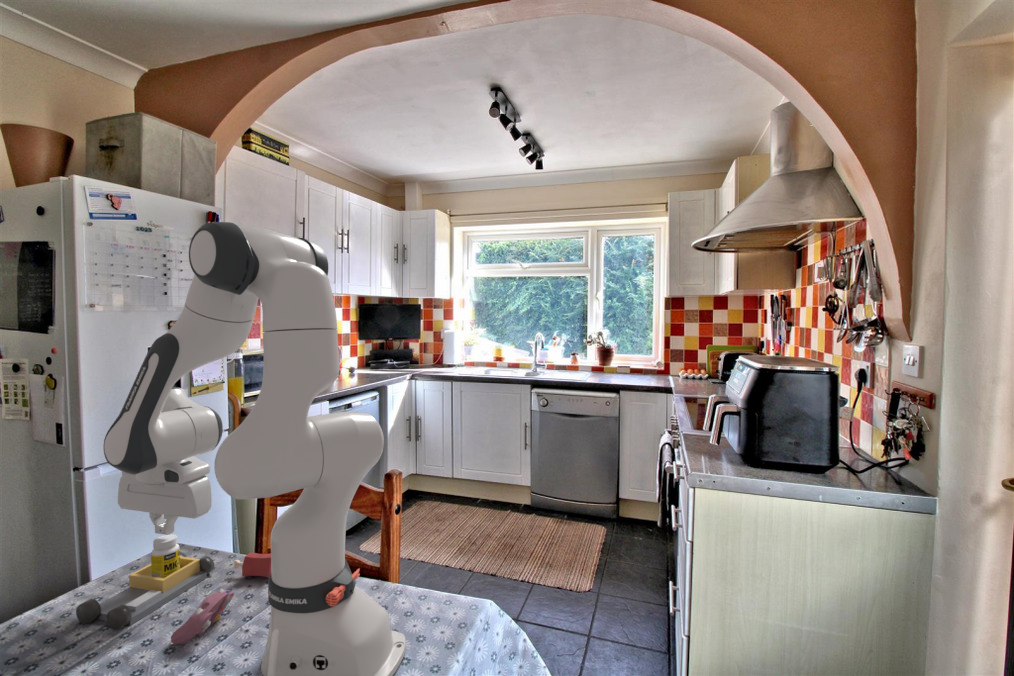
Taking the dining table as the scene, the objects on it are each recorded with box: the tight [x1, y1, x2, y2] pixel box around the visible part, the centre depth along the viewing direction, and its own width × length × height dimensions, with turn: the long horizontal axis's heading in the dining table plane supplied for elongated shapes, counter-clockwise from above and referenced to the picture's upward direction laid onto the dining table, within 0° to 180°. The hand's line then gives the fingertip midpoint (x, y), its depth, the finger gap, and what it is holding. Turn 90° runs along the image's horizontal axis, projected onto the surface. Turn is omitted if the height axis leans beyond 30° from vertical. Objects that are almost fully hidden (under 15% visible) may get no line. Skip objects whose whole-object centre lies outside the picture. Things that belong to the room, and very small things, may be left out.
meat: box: [233, 551, 271, 578], centre depth 100 cm, size 12×5×5 cm, turn 87°
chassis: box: [75, 551, 215, 631], centre depth 93 cm, size 11×19×4 cm, turn 167°
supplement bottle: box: [150, 533, 181, 578], centre depth 97 cm, size 5×5×8 cm
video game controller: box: [170, 587, 235, 646], centre depth 83 cm, size 10×5×7 cm, turn 178°
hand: (164, 533), depth 97 cm, fingers closed
